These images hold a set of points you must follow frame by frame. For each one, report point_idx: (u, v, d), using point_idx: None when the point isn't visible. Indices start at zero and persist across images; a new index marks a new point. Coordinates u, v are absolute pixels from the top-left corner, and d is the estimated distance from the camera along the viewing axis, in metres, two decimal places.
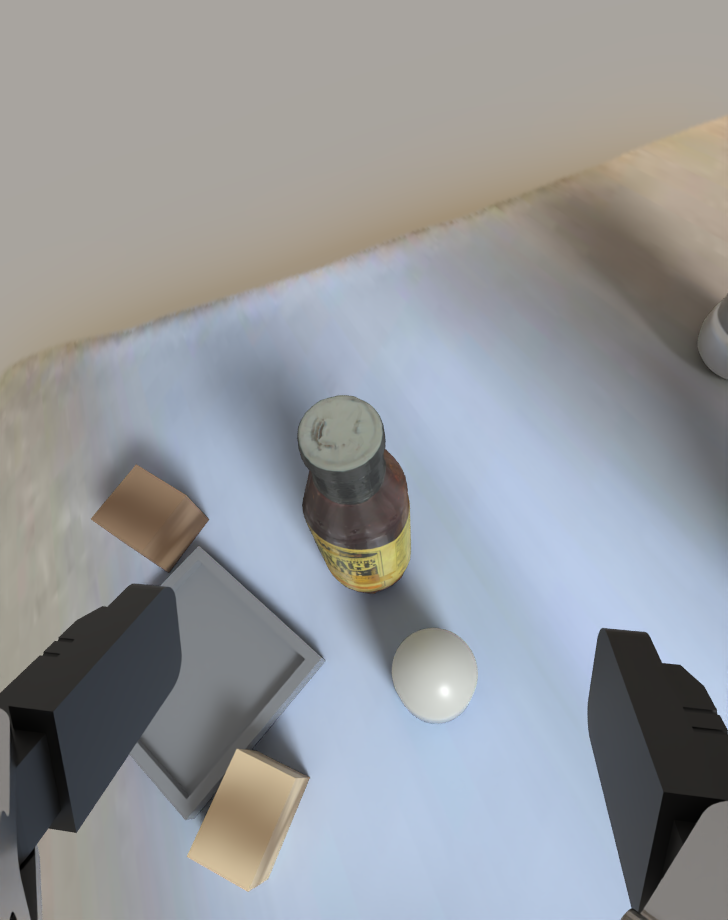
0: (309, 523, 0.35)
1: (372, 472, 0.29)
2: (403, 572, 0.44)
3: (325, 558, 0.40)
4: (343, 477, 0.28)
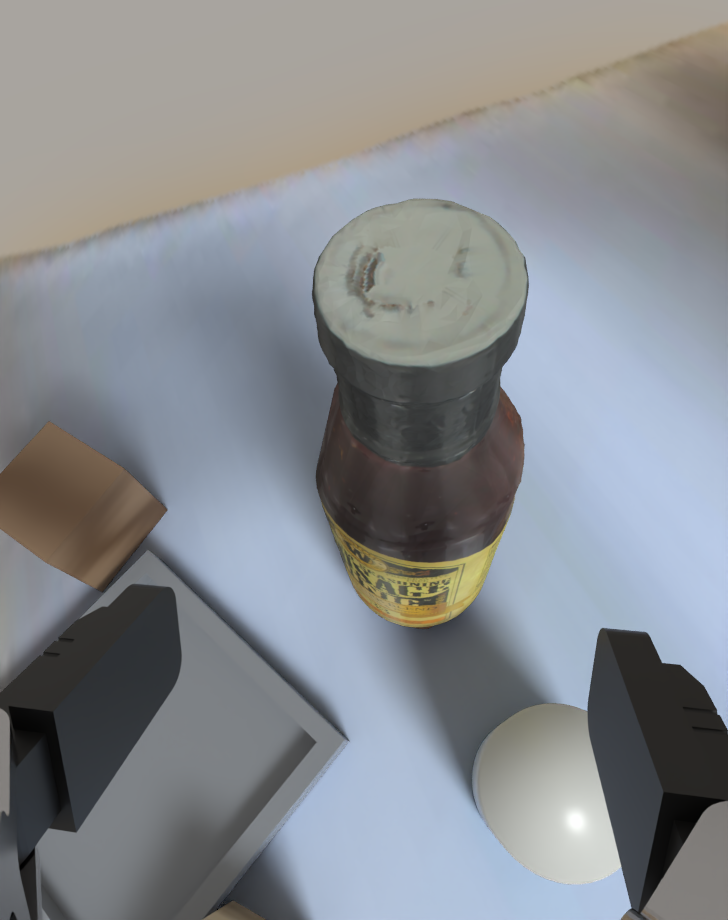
0: (330, 510, 0.18)
1: (488, 384, 0.12)
2: None
3: (353, 574, 0.23)
4: (430, 387, 0.11)
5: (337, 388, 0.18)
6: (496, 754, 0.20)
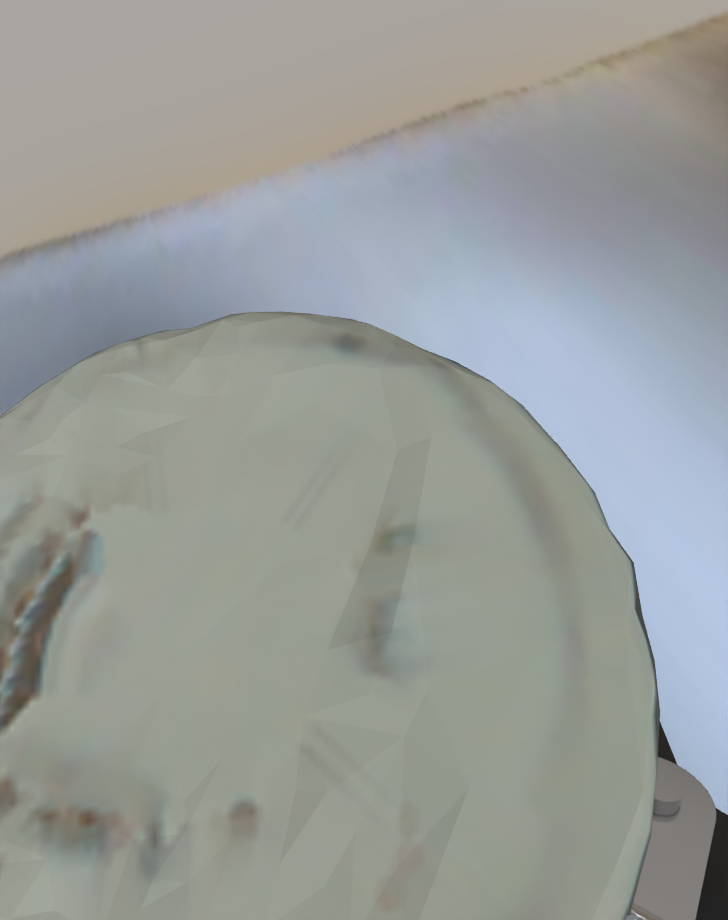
0: None
1: None
2: None
3: None
4: None
5: None
6: None
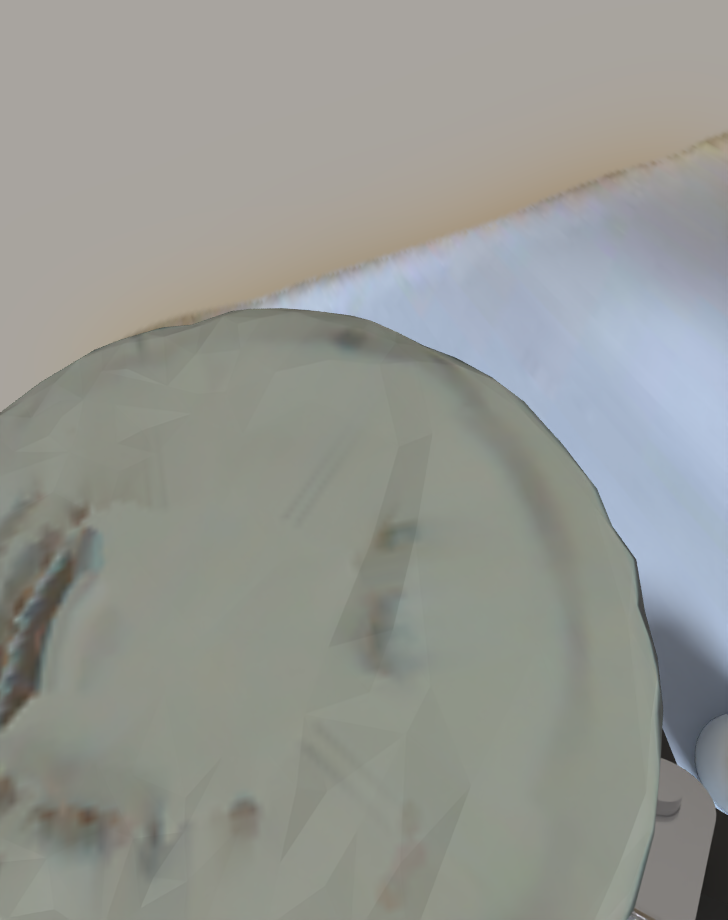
0: None
1: None
2: None
3: None
4: None
5: None
6: None
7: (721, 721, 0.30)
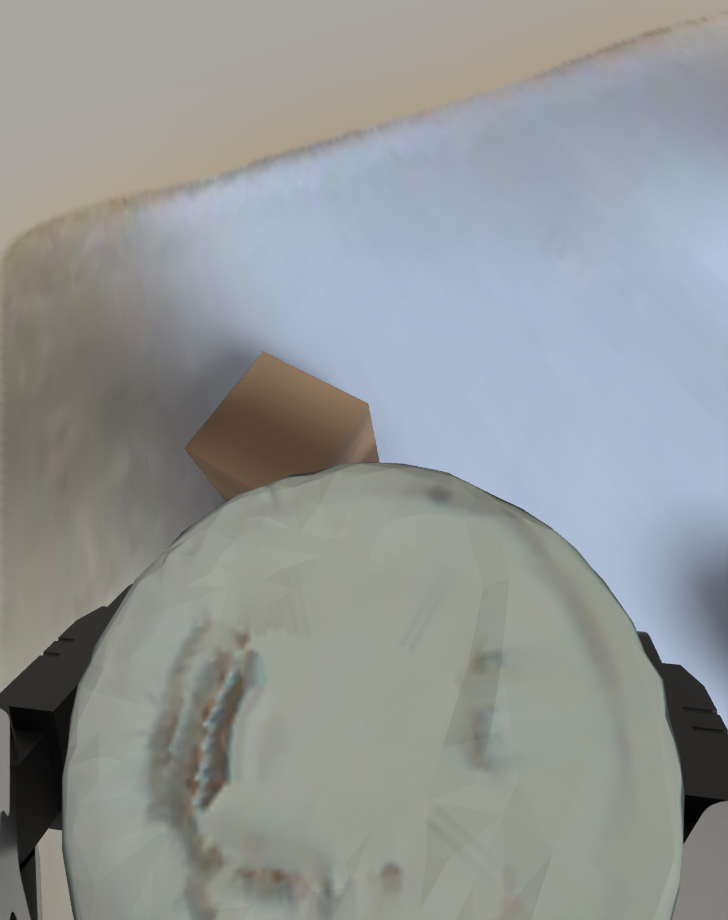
0: None
1: None
2: None
3: None
4: None
5: None
6: None
7: None
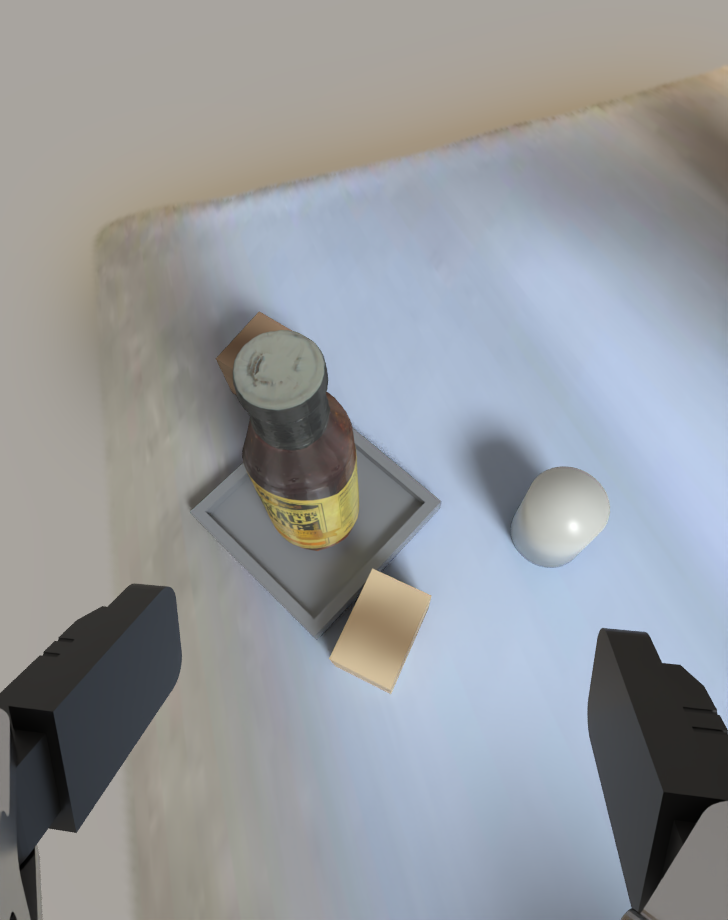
0: (247, 469, 0.33)
1: (312, 415, 0.28)
2: None
3: (266, 510, 0.38)
4: (279, 417, 0.26)
5: None
6: (535, 488, 0.39)
7: None
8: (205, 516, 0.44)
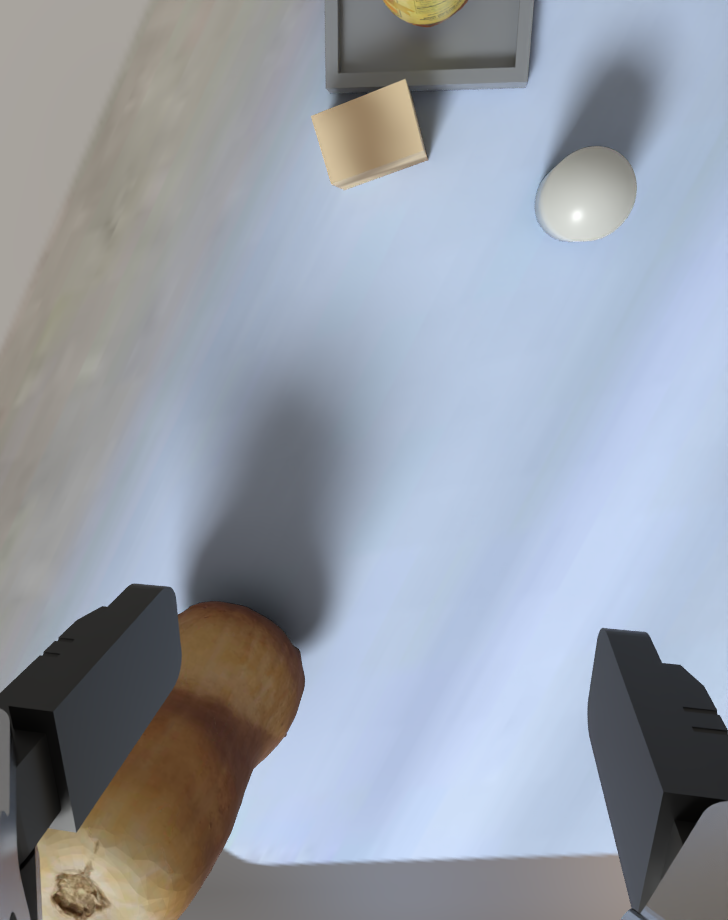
0: None
1: None
2: (432, 24, 0.38)
3: None
4: None
5: None
6: (585, 154, 0.35)
7: None
8: None
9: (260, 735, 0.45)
